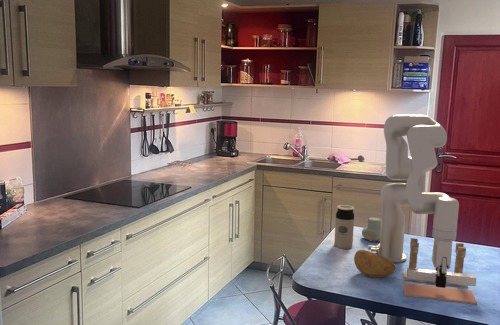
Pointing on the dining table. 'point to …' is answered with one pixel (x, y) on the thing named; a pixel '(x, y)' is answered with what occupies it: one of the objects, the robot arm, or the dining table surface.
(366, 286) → the dining table surface
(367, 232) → the air freshener
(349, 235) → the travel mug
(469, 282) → the steel bar
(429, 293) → the terracotta mat
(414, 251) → the hook stand
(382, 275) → the potato
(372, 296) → the dining table surface
